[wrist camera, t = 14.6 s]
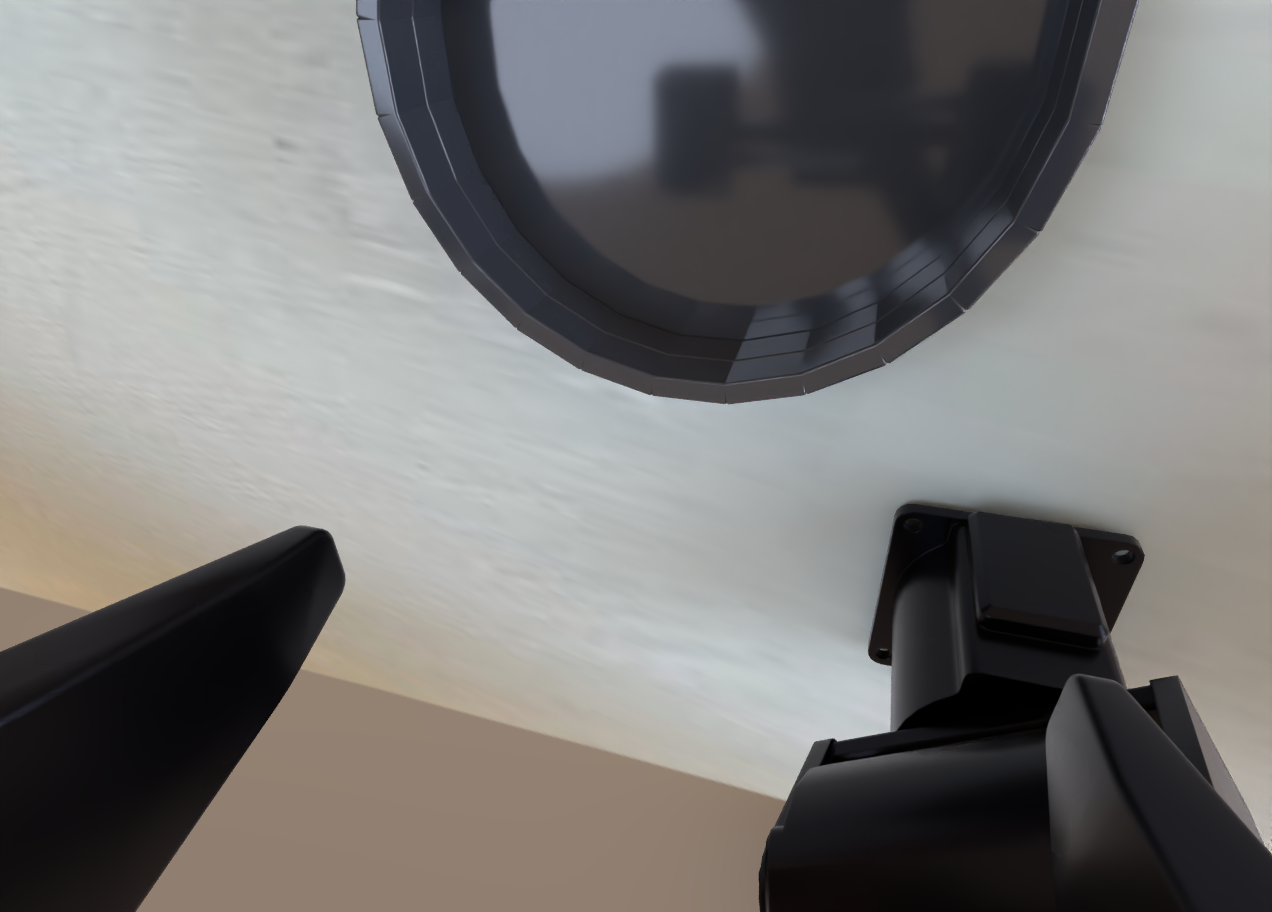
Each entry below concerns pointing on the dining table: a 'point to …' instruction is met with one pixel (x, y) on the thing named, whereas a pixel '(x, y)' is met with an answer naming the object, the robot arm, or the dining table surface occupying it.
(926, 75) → the pan
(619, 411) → the dining table surface
